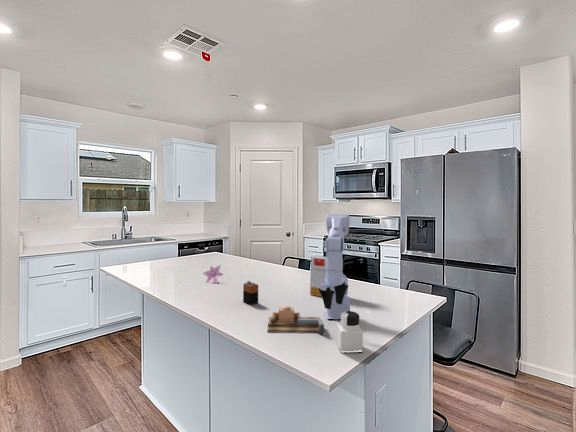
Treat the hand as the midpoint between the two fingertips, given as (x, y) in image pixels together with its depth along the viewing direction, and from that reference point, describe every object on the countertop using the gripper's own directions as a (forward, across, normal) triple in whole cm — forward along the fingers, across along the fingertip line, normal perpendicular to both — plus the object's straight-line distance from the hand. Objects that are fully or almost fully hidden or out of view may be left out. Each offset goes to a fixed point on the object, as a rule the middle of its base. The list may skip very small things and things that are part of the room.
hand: (333, 306), depth 120 cm
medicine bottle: (+11, +6, +11) cm, 16 cm away
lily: (+11, -17, -96) cm, 99 cm away
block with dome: (+10, +4, -20) cm, 22 cm away
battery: (+11, -4, -50) cm, 51 cm away
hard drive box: (+11, -40, -30) cm, 51 cm away
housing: (+10, +3, -16) cm, 19 cm away
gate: (+10, +3, -8) cm, 13 cm away
